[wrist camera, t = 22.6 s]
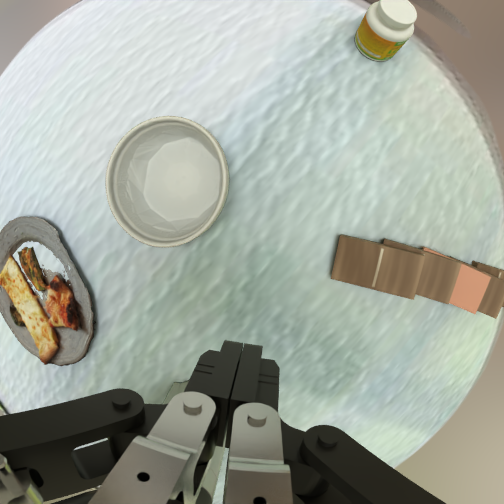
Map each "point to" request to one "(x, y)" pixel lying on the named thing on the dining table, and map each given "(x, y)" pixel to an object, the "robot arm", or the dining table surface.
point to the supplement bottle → (385, 29)
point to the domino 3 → (467, 286)
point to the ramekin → (167, 181)
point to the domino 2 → (434, 274)
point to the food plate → (54, 287)
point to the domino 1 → (377, 266)
